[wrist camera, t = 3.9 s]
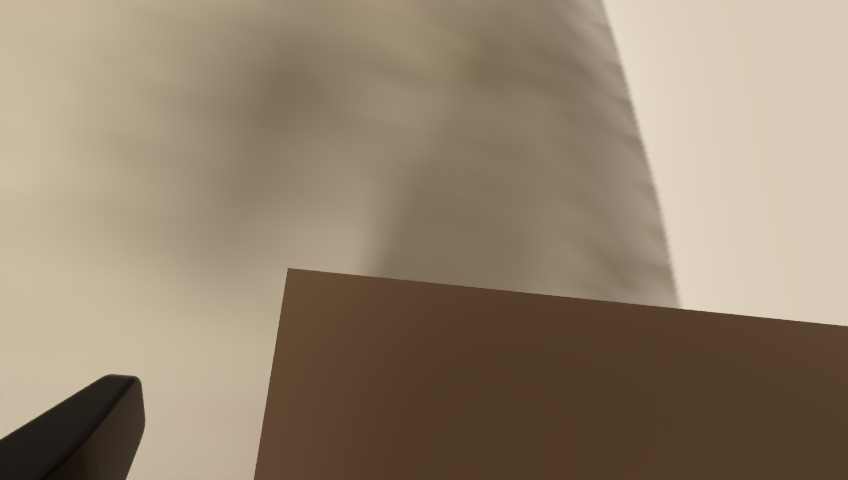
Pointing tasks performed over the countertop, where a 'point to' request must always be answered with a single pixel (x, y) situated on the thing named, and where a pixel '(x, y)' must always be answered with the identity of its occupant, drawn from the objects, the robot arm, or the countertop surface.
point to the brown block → (543, 388)
